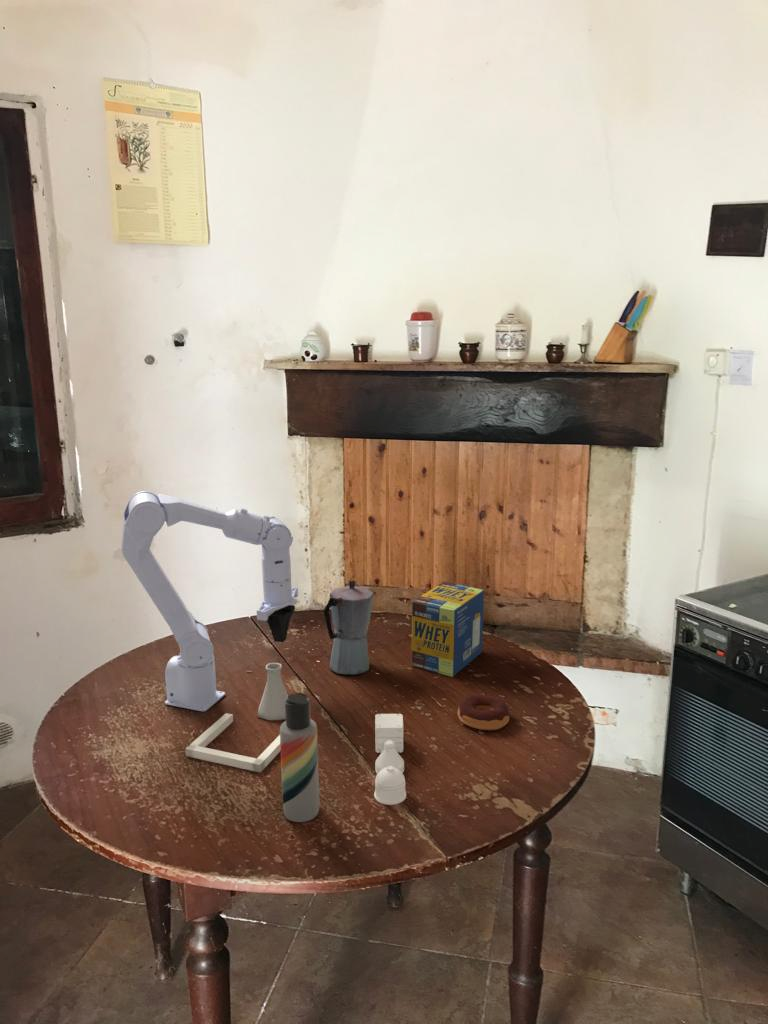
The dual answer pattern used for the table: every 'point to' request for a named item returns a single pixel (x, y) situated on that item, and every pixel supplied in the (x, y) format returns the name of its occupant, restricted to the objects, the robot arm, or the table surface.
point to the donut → (483, 712)
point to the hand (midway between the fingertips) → (280, 640)
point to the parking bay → (235, 760)
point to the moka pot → (349, 628)
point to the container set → (389, 759)
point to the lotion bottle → (299, 760)
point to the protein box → (447, 628)
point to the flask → (273, 695)
